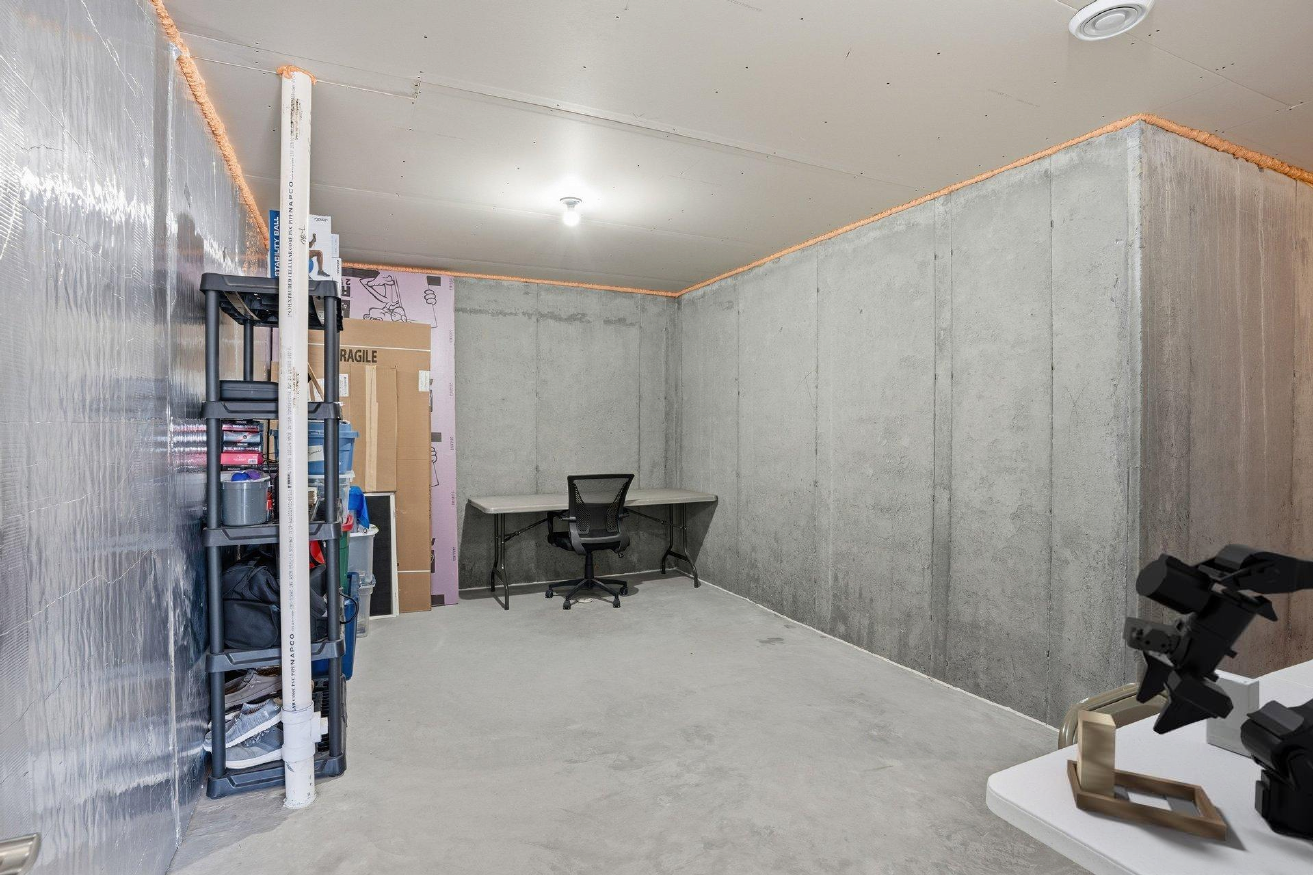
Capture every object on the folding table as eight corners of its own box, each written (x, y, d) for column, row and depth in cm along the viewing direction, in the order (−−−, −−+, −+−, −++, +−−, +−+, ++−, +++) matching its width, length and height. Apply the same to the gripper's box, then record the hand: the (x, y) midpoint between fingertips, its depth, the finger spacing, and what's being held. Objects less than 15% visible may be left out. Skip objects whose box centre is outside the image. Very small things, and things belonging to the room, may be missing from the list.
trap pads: (1191, 801, 94) (1191, 799, 94) (1208, 832, 87) (1208, 830, 87) (1110, 784, 99) (1110, 782, 99) (1120, 812, 92) (1120, 810, 92)
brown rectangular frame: (1200, 799, 95) (1201, 785, 95) (1225, 840, 86) (1226, 825, 85) (1067, 771, 102) (1067, 759, 102) (1076, 807, 93) (1076, 793, 93)
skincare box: (1260, 752, 109) (1262, 680, 109) (1248, 758, 107) (1251, 685, 107) (1214, 736, 114) (1217, 667, 114) (1202, 742, 112) (1205, 672, 112)
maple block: (1108, 788, 97) (1110, 714, 97) (1113, 802, 94) (1115, 726, 93) (1076, 781, 99) (1078, 709, 99) (1080, 794, 95) (1082, 720, 95)
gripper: (1133, 578, 102) (1077, 659, 106) (1170, 620, 85) (1102, 714, 89) (1212, 617, 98) (1152, 699, 102) (1267, 669, 81) (1192, 764, 85)
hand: (1147, 716), depth 95 cm, fingers open, 9 cm apart
